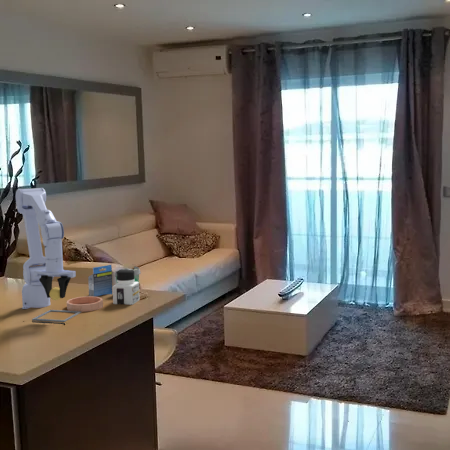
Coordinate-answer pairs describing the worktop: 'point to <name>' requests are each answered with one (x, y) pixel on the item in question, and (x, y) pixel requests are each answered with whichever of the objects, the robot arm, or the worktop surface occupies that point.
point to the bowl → (84, 303)
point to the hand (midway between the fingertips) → (56, 297)
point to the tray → (55, 320)
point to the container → (126, 288)
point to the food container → (136, 274)
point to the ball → (55, 293)
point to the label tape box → (100, 281)
